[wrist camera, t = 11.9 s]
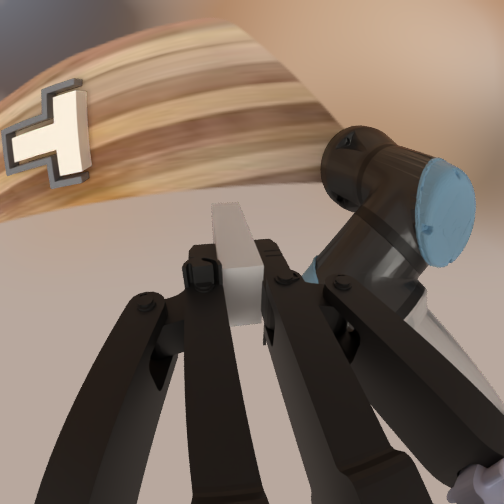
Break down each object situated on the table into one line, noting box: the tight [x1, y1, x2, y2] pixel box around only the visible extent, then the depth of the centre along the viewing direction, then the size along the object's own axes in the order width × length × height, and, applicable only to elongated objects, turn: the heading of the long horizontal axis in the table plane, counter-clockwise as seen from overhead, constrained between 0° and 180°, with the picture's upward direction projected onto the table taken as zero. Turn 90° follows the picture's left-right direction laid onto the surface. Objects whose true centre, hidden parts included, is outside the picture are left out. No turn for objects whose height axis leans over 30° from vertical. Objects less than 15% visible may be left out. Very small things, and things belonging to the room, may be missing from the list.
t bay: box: [1, 78, 89, 189], centre depth 29 cm, size 16×16×3 cm
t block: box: [12, 90, 92, 176], centre depth 29 cm, size 13×12×4 cm
